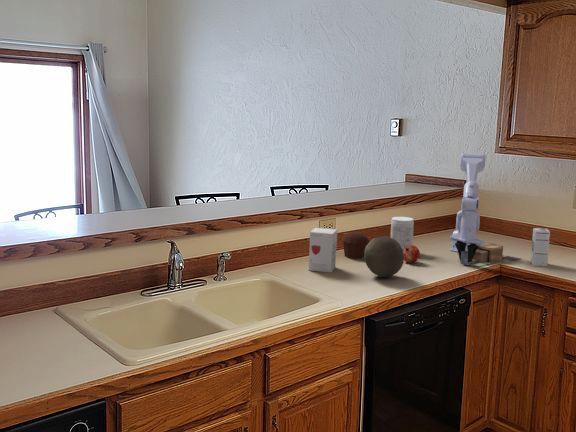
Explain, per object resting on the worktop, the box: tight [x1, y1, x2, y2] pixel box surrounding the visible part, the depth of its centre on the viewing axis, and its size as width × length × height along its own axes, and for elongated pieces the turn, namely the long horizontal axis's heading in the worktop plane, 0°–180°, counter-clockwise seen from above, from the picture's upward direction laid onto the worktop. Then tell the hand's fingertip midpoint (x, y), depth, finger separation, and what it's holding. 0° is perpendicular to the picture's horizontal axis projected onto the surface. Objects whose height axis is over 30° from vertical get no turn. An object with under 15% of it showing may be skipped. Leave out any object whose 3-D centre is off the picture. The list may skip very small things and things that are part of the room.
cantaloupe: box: [363, 236, 405, 278], centre depth 225 cm, size 14×14×15 cm
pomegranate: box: [403, 244, 421, 265], centre depth 249 cm, size 7×7×10 cm
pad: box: [457, 260, 491, 268], centre depth 252 cm, size 10×9×1 cm
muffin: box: [341, 231, 371, 260], centre depth 257 cm, size 12×11×10 cm
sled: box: [459, 248, 490, 266], centre depth 252 cm, size 5×16×5 cm, turn 133°
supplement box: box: [308, 227, 338, 273], centre depth 234 cm, size 9×9×15 cm
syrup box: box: [529, 227, 551, 267], centre depth 251 cm, size 6×6×14 cm
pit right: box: [502, 255, 522, 262], centre depth 261 cm, size 6×6×1 cm
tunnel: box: [479, 241, 504, 264], centre depth 258 cm, size 9×9×6 cm
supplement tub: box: [390, 216, 415, 250], centre depth 266 cm, size 10×10×15 cm
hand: (465, 261), depth 247 cm, fingers closed on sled, 3 cm apart
